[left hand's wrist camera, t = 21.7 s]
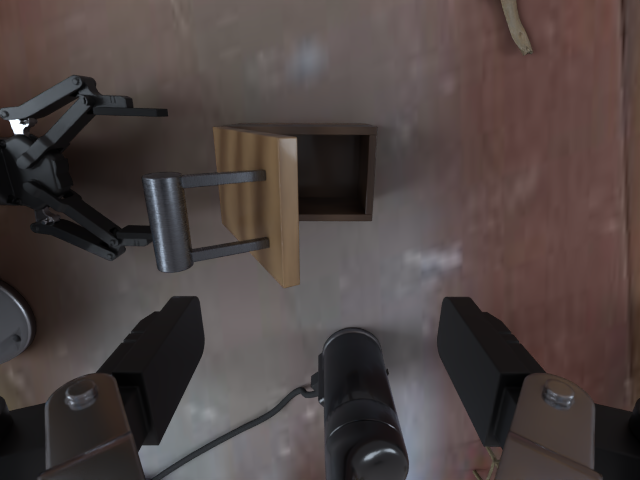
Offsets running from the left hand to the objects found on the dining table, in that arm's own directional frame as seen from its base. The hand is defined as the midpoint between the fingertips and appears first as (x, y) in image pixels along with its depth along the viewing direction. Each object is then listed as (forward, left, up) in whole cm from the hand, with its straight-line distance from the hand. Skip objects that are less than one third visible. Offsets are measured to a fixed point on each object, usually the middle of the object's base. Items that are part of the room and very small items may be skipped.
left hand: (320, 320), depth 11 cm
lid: (-4, +4, -20) cm, 20 cm away
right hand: (-13, +11, -30) cm, 34 cm away
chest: (-2, +1, -36) cm, 36 cm away
